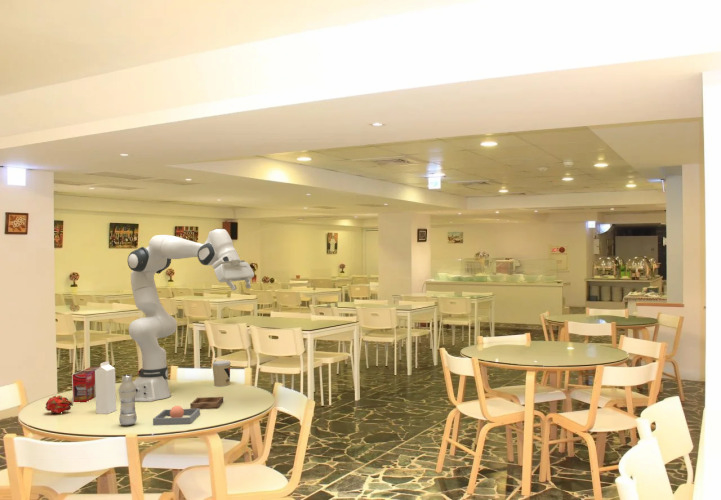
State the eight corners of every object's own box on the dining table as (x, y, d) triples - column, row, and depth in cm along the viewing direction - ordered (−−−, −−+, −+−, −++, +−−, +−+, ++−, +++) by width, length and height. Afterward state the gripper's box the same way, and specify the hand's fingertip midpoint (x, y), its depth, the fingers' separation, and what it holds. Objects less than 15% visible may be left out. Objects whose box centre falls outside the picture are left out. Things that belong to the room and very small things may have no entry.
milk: (96, 413, 275) (94, 363, 276) (104, 410, 281) (102, 360, 281) (108, 414, 274) (106, 363, 274) (116, 410, 280) (114, 360, 280)
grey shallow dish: (153, 425, 253) (152, 418, 253) (164, 415, 268) (164, 409, 268) (190, 423, 253) (190, 417, 253) (199, 414, 268) (199, 408, 268)
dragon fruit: (45, 416, 279) (71, 420, 279) (37, 409, 273) (64, 412, 272) (53, 398, 284) (78, 402, 284) (46, 390, 278) (72, 394, 277)
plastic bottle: (122, 423, 258) (120, 374, 258) (139, 422, 258) (137, 373, 258) (117, 427, 251) (115, 377, 251) (134, 426, 252) (133, 376, 252)
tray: (190, 409, 278) (190, 403, 278) (197, 402, 290) (197, 397, 290) (217, 408, 278) (217, 403, 278) (223, 402, 290) (223, 396, 290)
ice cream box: (90, 393, 318) (89, 367, 319) (103, 393, 319) (102, 366, 319) (72, 402, 298) (72, 374, 299) (86, 402, 299) (85, 374, 299)
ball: (168, 421, 258) (167, 407, 258) (172, 418, 264) (171, 404, 264) (182, 421, 258) (181, 407, 258) (185, 417, 264) (185, 404, 264)
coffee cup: (229, 386, 324) (228, 363, 324) (210, 387, 324) (210, 363, 324) (232, 382, 333) (232, 360, 334) (215, 383, 334) (214, 360, 334)
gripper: (241, 263, 290) (252, 290, 287) (209, 265, 273) (221, 294, 270) (250, 256, 287) (262, 283, 284) (218, 258, 270) (230, 287, 267)
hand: (241, 288), depth 277 cm, fingers open, 8 cm apart
